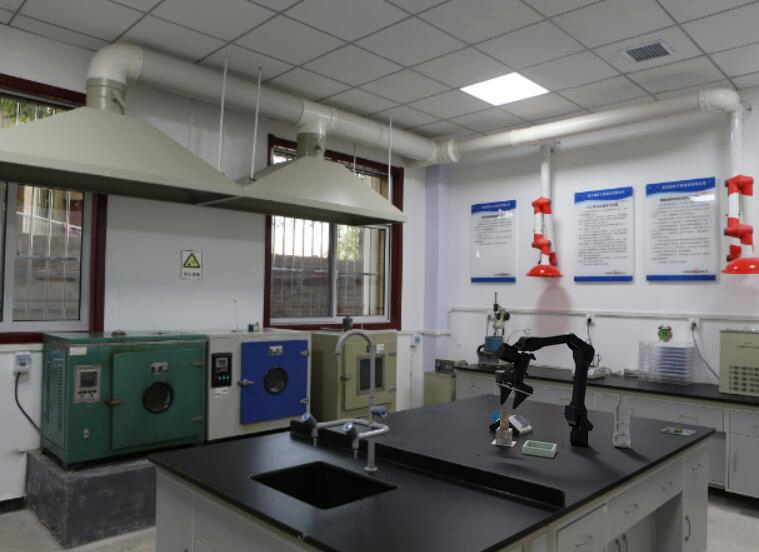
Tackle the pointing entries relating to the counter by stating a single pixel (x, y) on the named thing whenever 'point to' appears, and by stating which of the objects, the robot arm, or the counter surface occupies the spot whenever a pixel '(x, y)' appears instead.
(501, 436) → the stamp
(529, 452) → the tray
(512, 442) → the stud plate
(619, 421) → the plastic bottle
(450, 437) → the counter surface
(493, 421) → the blue lobed toy
